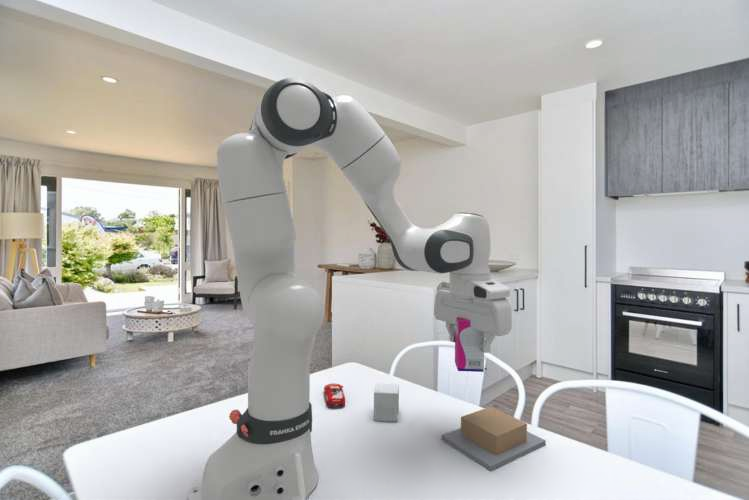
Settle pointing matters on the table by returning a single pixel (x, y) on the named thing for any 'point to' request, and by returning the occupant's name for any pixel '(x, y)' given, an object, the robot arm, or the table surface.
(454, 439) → the build base
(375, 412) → the product box
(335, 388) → the race car
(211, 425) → the table surface
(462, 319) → the supplement box
